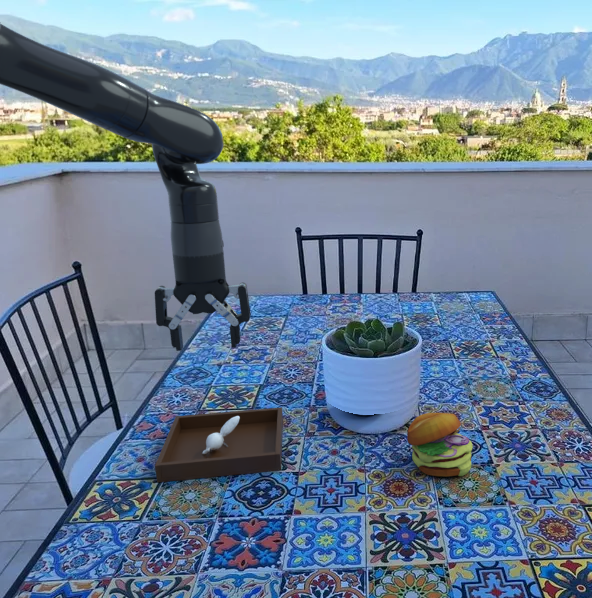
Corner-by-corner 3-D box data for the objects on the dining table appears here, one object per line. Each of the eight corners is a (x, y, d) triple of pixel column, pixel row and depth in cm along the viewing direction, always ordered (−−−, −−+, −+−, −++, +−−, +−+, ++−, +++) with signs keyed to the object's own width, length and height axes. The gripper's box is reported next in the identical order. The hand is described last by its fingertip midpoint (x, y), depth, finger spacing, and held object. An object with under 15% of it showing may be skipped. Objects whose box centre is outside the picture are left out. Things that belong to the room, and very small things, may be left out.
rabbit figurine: (193, 450, 98) (224, 415, 103) (210, 465, 99) (240, 429, 103) (200, 446, 93) (233, 410, 98) (218, 462, 94) (250, 425, 98)
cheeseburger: (450, 491, 87) (438, 430, 86) (400, 479, 94) (388, 423, 93) (487, 462, 94) (476, 406, 93) (438, 453, 101) (427, 401, 100)
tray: (157, 482, 90) (154, 465, 89) (177, 430, 106) (175, 416, 105) (281, 470, 93) (279, 453, 92) (283, 421, 109) (282, 407, 108)
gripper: (143, 256, 82) (156, 359, 87) (243, 252, 85) (250, 353, 89) (155, 246, 89) (166, 342, 94) (247, 243, 92) (253, 337, 96)
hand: (207, 347), depth 91 cm, fingers open, 8 cm apart
